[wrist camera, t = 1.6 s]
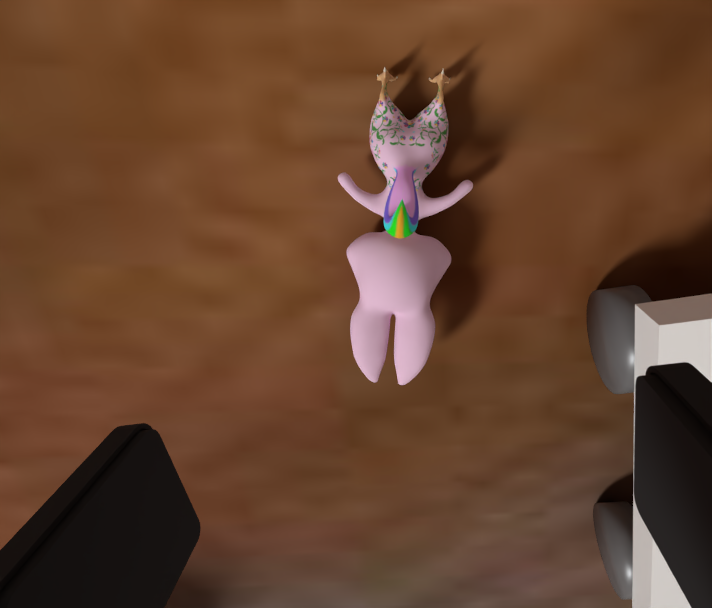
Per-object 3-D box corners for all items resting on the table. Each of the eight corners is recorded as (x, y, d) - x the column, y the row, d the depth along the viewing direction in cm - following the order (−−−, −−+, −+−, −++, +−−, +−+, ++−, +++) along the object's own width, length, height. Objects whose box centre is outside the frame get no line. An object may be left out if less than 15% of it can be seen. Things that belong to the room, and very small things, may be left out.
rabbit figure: (349, 81, 22) (334, 366, 26) (329, 42, 17) (313, 415, 20) (478, 86, 22) (444, 376, 25) (503, 48, 16) (455, 431, 20)
